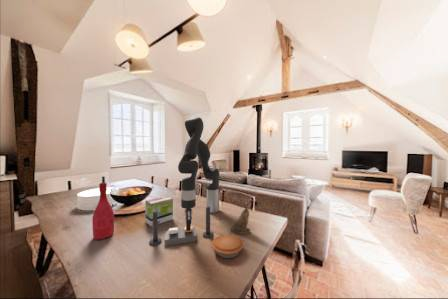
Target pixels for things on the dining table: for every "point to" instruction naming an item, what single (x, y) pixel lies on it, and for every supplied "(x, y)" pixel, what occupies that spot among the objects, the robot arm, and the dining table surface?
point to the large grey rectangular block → (180, 237)
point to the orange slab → (187, 231)
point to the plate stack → (92, 198)
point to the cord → (155, 230)
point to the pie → (227, 245)
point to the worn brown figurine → (241, 223)
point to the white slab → (172, 230)
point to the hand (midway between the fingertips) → (188, 229)
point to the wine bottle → (103, 216)
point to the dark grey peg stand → (208, 224)
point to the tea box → (159, 209)
